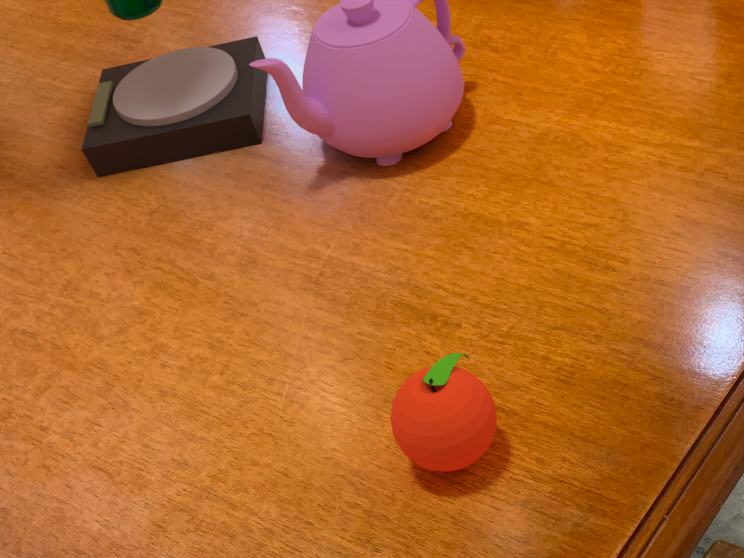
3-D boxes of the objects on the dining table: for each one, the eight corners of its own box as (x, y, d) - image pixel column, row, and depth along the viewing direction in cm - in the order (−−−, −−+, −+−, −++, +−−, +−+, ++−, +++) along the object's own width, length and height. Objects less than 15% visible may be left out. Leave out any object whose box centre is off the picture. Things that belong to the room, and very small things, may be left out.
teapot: (345, 222, 87) (296, 89, 77) (257, 163, 94) (201, 34, 84) (519, 106, 93) (494, -31, 83) (423, 59, 100) (390, -72, 90)
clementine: (438, 395, 73) (414, 321, 68) (527, 414, 71) (509, 338, 65) (388, 480, 69) (357, 409, 64) (480, 503, 67) (456, 430, 61)
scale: (97, 177, 97) (76, 141, 94) (116, 96, 105) (98, 61, 102) (261, 143, 96) (245, 106, 93) (268, 64, 104) (254, 27, 101)
